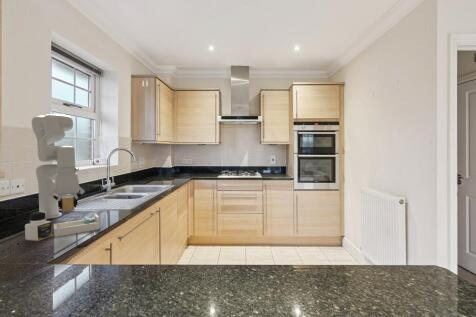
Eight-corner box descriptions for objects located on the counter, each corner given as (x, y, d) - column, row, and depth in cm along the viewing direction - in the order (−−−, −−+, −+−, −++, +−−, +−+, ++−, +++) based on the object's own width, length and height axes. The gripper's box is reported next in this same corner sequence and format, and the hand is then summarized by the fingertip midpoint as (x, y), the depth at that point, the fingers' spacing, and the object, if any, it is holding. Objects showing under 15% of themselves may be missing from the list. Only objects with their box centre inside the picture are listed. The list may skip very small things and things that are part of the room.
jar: (60, 210, 136) (60, 195, 136) (74, 208, 139) (73, 193, 139) (61, 212, 131) (60, 196, 131) (75, 210, 135) (74, 195, 134)
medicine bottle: (38, 241, 122) (37, 214, 122) (25, 240, 124) (23, 213, 123) (52, 235, 129) (51, 210, 129) (39, 235, 131) (38, 210, 130)
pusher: (84, 224, 143) (84, 216, 143) (93, 222, 146) (93, 215, 146) (86, 227, 137) (86, 219, 137) (96, 226, 139) (96, 218, 139)
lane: (53, 230, 137) (53, 219, 137) (96, 224, 148) (95, 213, 148) (54, 236, 128) (54, 223, 128) (99, 229, 139) (99, 217, 139)
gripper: (85, 169, 143) (86, 204, 143) (45, 171, 133) (46, 209, 133) (87, 170, 137) (88, 206, 137) (45, 172, 127) (47, 211, 127)
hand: (68, 207), depth 135 cm, fingers closed on jar, 5 cm apart
